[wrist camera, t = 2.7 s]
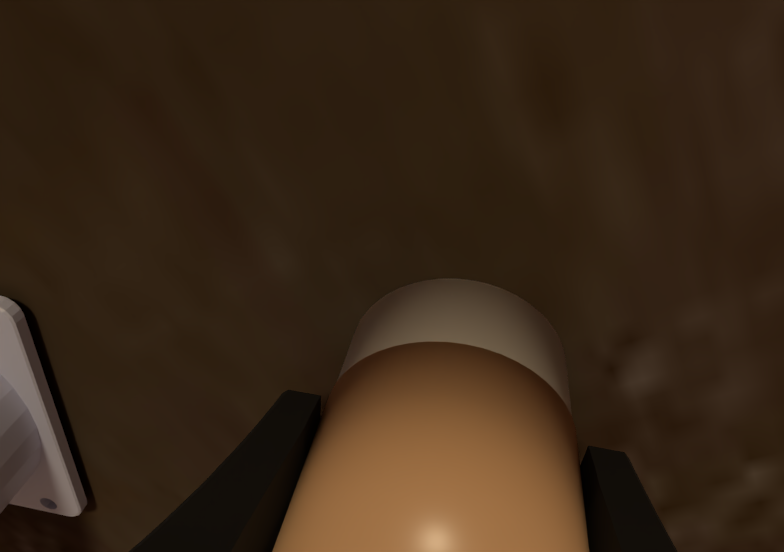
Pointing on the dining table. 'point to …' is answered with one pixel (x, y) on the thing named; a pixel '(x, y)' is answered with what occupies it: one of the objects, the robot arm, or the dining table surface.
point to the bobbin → (444, 433)
